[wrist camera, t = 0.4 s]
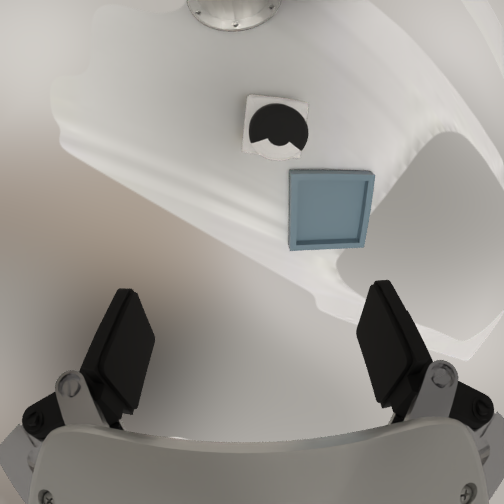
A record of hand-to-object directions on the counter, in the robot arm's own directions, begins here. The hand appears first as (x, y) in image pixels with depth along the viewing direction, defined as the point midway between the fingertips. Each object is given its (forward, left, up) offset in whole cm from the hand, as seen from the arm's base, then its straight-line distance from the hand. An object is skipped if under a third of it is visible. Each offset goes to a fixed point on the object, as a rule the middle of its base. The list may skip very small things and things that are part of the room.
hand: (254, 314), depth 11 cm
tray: (+11, +12, -32) cm, 35 cm away
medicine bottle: (-3, +3, -32) cm, 32 cm away
